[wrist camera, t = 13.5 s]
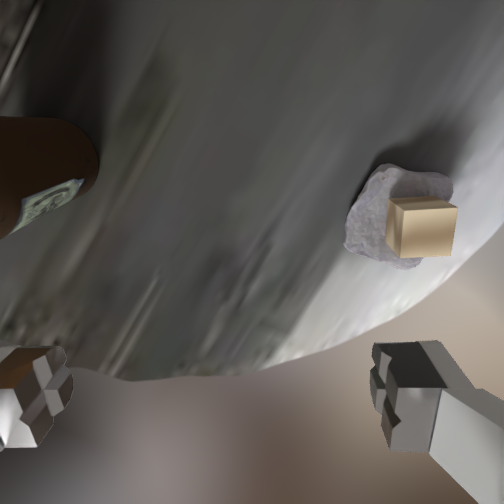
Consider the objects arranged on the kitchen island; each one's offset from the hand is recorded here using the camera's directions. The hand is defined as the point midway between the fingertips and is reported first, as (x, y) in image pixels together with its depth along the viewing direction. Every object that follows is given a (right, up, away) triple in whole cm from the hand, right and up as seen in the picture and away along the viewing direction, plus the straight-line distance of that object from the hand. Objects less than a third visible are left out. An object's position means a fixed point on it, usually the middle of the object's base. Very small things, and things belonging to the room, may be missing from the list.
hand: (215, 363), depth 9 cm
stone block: (+18, +8, +33) cm, 39 cm away
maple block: (+19, +7, +29) cm, 35 cm away
